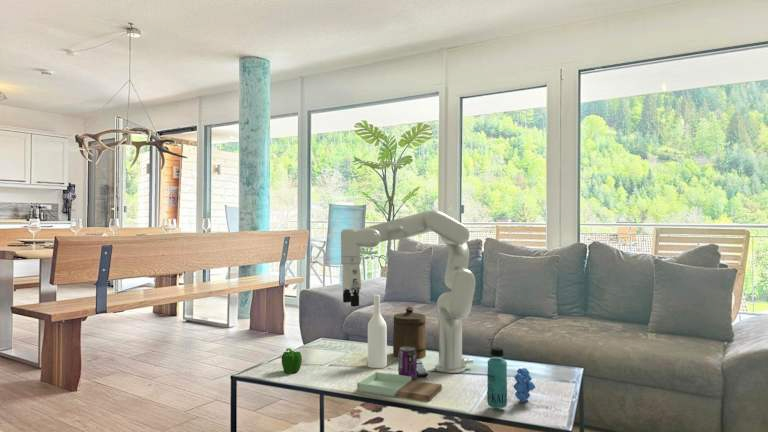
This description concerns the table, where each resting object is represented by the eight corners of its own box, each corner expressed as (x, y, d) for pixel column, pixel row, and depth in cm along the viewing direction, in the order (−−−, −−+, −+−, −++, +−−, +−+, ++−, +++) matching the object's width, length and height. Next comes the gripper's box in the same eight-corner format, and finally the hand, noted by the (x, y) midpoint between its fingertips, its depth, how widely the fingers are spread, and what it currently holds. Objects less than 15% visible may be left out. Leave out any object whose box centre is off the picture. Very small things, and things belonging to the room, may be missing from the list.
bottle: (388, 363, 224) (388, 293, 224) (384, 369, 216) (383, 296, 216) (370, 362, 226) (370, 293, 226) (365, 367, 218) (365, 296, 218)
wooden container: (431, 354, 239) (431, 306, 239) (415, 361, 227) (415, 311, 227) (403, 349, 247) (403, 303, 247) (386, 356, 235) (386, 308, 235)
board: (441, 389, 189) (441, 384, 189) (429, 401, 178) (429, 395, 178) (411, 385, 195) (411, 380, 195) (397, 396, 183) (397, 390, 183)
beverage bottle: (492, 404, 175) (492, 344, 175) (511, 408, 171) (510, 347, 171) (483, 409, 170) (483, 348, 170) (502, 414, 166) (501, 351, 166)
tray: (411, 384, 196) (411, 376, 196) (395, 397, 182) (395, 388, 182) (375, 379, 202) (375, 371, 202) (357, 391, 189) (357, 382, 189)
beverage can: (415, 382, 198) (415, 351, 198) (397, 381, 199) (396, 350, 199) (417, 376, 205) (417, 346, 205) (400, 375, 206) (400, 345, 206)
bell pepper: (296, 367, 219) (296, 343, 219) (304, 372, 212) (304, 348, 212) (277, 371, 214) (277, 346, 214) (285, 376, 207) (285, 351, 207)
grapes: (529, 410, 169) (529, 373, 169) (509, 405, 173) (509, 369, 173) (541, 399, 179) (540, 364, 179) (521, 395, 183) (521, 361, 183)
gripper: (367, 261, 197) (367, 307, 197) (352, 258, 213) (352, 300, 213) (348, 262, 194) (348, 308, 194) (335, 259, 210) (335, 301, 210)
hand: (350, 304), depth 204 cm, fingers open, 9 cm apart
